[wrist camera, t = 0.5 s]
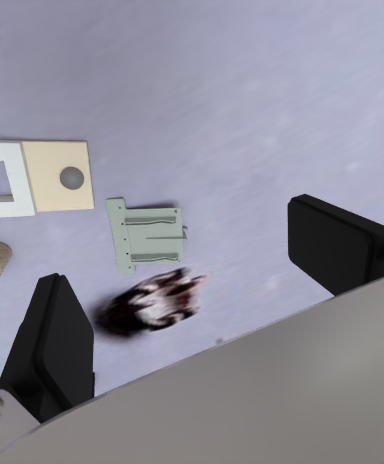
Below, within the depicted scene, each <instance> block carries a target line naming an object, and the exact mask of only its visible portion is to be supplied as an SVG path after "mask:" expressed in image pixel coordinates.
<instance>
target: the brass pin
mask: <svg viewBox="0 0 384 464" xmlns="http://www.w3.org/2000/svg"><path fill="white" fill-rule="evenodd" d="M11 256H12V249H11V248H10V247H9V246H8V245H7V244H5V243H2V242H0V275H1V273H2V272H3V270H4V268H5V267H6V265H7V263H8V261H9V260H10V258H11Z"/></svg>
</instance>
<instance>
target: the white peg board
mask: <svg viewBox="0 0 384 464" xmlns="http://www.w3.org/2000/svg"><path fill="white" fill-rule="evenodd" d="M0 161H4V163H5V167H6V171H7V175H8V179H9V183H10V187H11V191H12V196H0V217H16V216H34V215H36V213H37V212H41V211H60V210H78V209H94V199H93V190H92V181H91V173H90V164H89V156H88V147H87V141H29V140H0Z"/></svg>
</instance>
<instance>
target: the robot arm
mask: <svg viewBox="0 0 384 464" xmlns="http://www.w3.org/2000/svg"><path fill="white" fill-rule="evenodd" d="M288 255H289V258H290V260H291V261H292V262H293V263H294V264H295V265H296V266H298V267H299V268H300V269H301V270H303V271H304V272H305V273H306V274H308V275H309V276H310V277H312V278H313V279H314V280H315V281H317V282H318V283H319V284H320V285H322V286H323V287H324V288H325V289H327V290H328V291H329V292H330V293H332V294H333V295H334V296H335V297H332V298H330V299H327V300H325V301H322V302H320V303H318V304H315V305H313V306H310V307H308V308H305V309H303V310H300V311H298V312H296V313H293V314H291V315H288V316H286V317H284V318H281V319H279V320H276V321H274V322H271V323H269V324H267V325H264V326H262V327H259V328H257V329H255V330H252V331H250V332H247V333H245V334H242V335H240V336H238V337H235V338H233V339H230V340H228V341H226V342H223V343H221V344H218V345H216V346H214V347H211V348H209V349H207V350H204V351H202V352H199V353H197V354H195V355H192V356H190V357H188V358H185V359H183V360H180V361H178V362H176V363H173V364H171V365H169V366H166V367H164V368H161V369H159V370H157V371H154V372H152V373H149V374H147V375H145V376H142V377H140V378H138V379H135V380H133V381H131V382H128V383H126V384H124V385H121V386H119V387H117V388H114V389H112V390H110V391H108V392H105V393H103V394H101V395H99V396H97V397H95V398H92V373H93V344H94V333H93V329H92V326H91V324H90V322H89V320H88V318H87V316H86V314H85V312H84V311H83V309H82V307H81V305H80V303H79V301H78V299H77V297H76V295H75V293H74V291H73V289H72V288H71V286H70V284H69V282H68V280H67V278H66V276H65V275H61V276H60V275H59V274H58V273H54V274H51V275H48V276H45V277H42V278H39V280H38V283H37V285H36V288H35V291H34V293H33V296H32V299H31V301H30V304H29V307H28V309H27V312H26V315H25V318H24V320H23V322H22V323H21V325H20V327H19V330H18V332H17V335H16V337H15V340H14V343H13V345H12V348H11V351H10V353H9V356H8V359H7V361H6V364H5V366H4V369H3V372H2V374H1V377H0V464H384V225H381V224H379V223H376V222H374V221H371V220H369V219H366V218H364V217H362V216H359V215H357V214H354V213H352V212H349V211H347V210H344V209H342V208H339V207H337V206H334V205H332V204H329V203H327V202H325V201H322V200H320V199H317V198H315V197H312V196H310V195H307V194H303V195H300V196H297V197H293V198H292V199H291V200H290V202H289V203H288Z"/></svg>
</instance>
